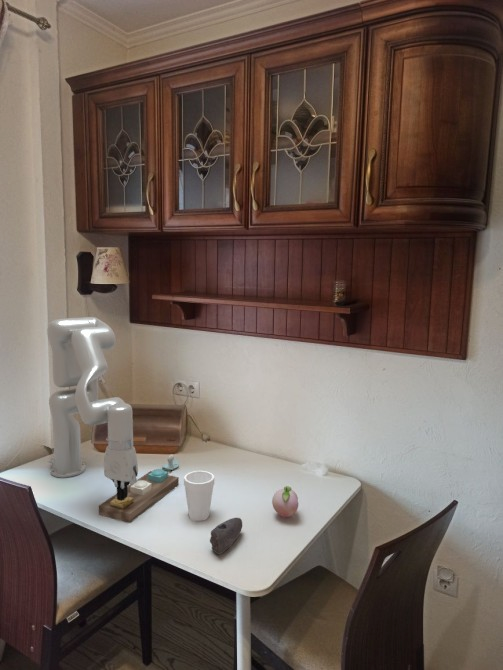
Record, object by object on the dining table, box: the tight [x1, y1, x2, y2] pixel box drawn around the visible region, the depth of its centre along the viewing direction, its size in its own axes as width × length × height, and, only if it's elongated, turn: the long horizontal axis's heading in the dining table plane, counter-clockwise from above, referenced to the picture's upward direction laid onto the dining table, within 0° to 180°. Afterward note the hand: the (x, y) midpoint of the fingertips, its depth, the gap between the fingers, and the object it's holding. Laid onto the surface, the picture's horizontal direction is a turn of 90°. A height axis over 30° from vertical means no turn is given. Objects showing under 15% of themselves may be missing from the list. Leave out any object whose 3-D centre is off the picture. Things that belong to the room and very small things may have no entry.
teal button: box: [148, 468, 169, 483], centre depth 170 cm, size 5×5×4 cm
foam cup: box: [183, 470, 215, 522], centre depth 151 cm, size 10×9×13 cm
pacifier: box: [159, 453, 180, 472], centre depth 185 cm, size 7×6×6 cm
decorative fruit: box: [271, 485, 299, 518], centre depth 151 cm, size 9×8×10 cm
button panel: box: [98, 470, 180, 524], centre depth 161 cm, size 12×28×3 cm, turn 157°
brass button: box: [110, 495, 133, 510], centre depth 152 cm, size 5×5×4 cm
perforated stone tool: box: [209, 517, 243, 555], centre depth 136 cm, size 15×5×7 cm, turn 148°
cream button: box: [130, 480, 152, 496], centre depth 161 cm, size 5×5×4 cm
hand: (122, 498), depth 152 cm, fingers closed
